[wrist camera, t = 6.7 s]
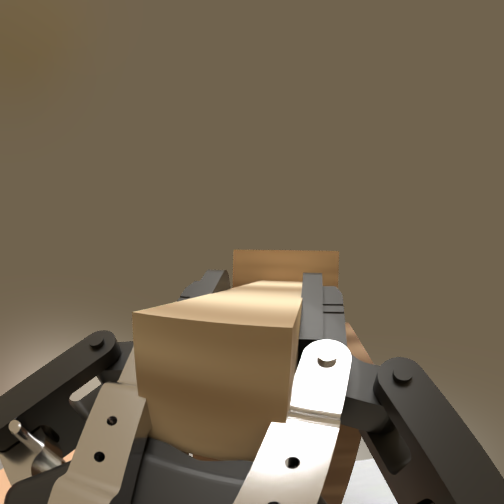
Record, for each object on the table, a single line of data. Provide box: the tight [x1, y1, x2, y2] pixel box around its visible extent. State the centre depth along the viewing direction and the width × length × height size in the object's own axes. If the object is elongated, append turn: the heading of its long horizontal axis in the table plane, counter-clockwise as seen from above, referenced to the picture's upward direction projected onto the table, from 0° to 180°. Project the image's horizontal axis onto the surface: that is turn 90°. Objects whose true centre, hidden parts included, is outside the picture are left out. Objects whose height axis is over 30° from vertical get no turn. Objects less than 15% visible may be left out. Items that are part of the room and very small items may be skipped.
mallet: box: [132, 250, 339, 462], centre depth 16 cm, size 23×7×7 cm, turn 168°
